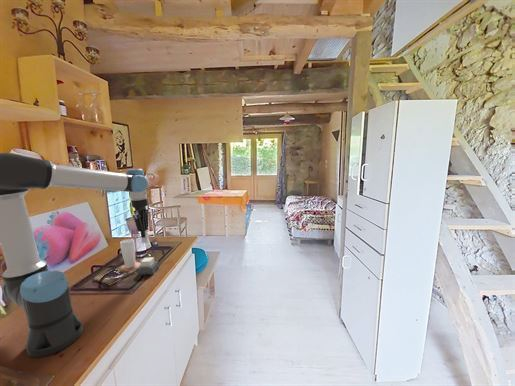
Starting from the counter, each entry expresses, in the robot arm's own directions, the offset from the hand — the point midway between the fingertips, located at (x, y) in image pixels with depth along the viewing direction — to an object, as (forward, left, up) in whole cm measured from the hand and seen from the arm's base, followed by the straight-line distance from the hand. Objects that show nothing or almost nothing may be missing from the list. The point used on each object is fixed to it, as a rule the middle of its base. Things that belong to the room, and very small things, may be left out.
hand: (145, 242), depth 128 cm
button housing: (0, 0, -17) cm, 17 cm away
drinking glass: (-2, +13, -15) cm, 20 cm away
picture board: (-7, +13, -17) cm, 22 cm away
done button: (0, 0, -14) cm, 14 cm away
